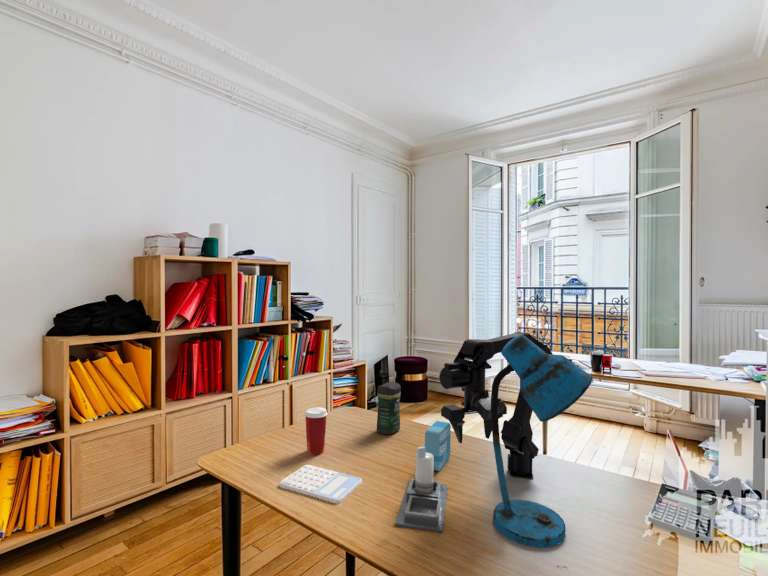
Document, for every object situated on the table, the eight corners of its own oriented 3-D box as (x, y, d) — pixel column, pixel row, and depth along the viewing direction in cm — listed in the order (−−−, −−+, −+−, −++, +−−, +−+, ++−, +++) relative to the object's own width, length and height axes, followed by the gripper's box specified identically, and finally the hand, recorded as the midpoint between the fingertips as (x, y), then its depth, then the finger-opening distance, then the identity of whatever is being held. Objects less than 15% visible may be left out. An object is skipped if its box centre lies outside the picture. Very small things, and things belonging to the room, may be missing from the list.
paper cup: (331, 450, 134) (332, 409, 134) (316, 458, 127) (316, 415, 127) (314, 445, 138) (315, 405, 138) (298, 452, 131) (299, 411, 131)
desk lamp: (596, 561, 81) (599, 342, 81) (486, 536, 88) (488, 336, 88) (585, 518, 96) (587, 334, 96) (492, 500, 103) (494, 329, 103)
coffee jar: (391, 436, 146) (392, 387, 146) (373, 432, 150) (374, 384, 150) (403, 428, 155) (404, 381, 155) (385, 425, 159) (386, 379, 159)
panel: (447, 487, 110) (447, 479, 110) (442, 532, 90) (442, 522, 90) (409, 482, 112) (409, 474, 112) (395, 525, 92) (395, 516, 92)
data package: (438, 473, 118) (438, 433, 118) (424, 470, 120) (424, 430, 120) (450, 458, 129) (450, 421, 129) (437, 455, 131) (437, 419, 131)
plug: (427, 486, 109) (428, 442, 109) (437, 495, 104) (437, 449, 104) (411, 490, 107) (412, 444, 107) (420, 499, 102) (421, 452, 102)
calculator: (306, 468, 121) (306, 462, 121) (363, 483, 113) (363, 476, 112) (277, 488, 109) (277, 481, 109) (338, 506, 101) (338, 499, 100)
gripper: (463, 395, 99) (462, 457, 99) (521, 388, 107) (520, 446, 107) (440, 385, 110) (439, 441, 110) (494, 379, 117) (493, 432, 117)
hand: (474, 440), depth 110 cm, fingers open, 9 cm apart
